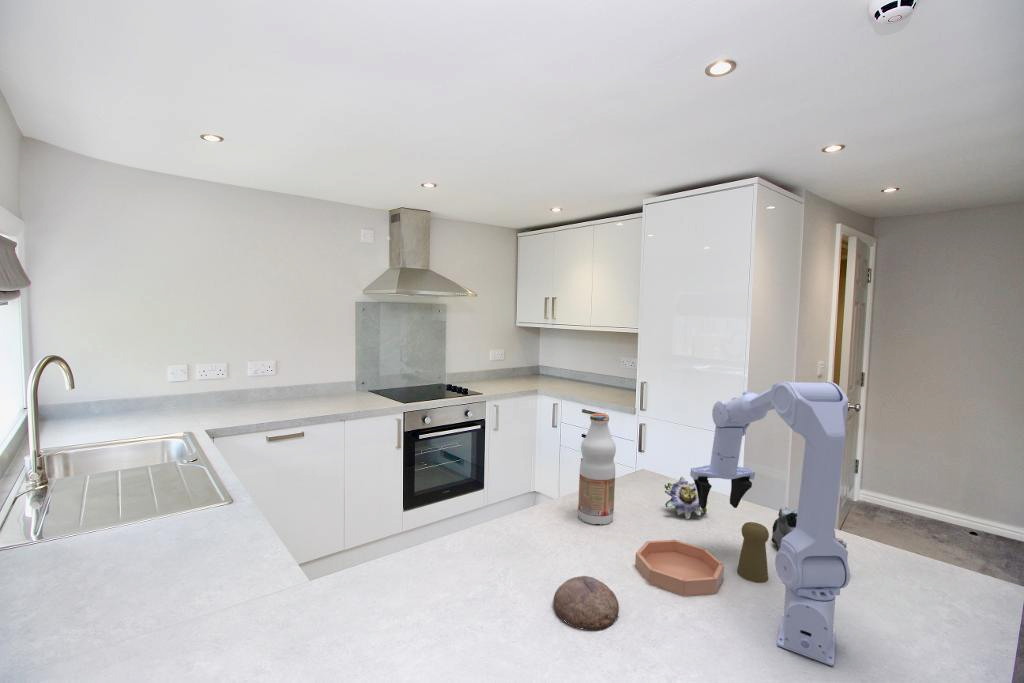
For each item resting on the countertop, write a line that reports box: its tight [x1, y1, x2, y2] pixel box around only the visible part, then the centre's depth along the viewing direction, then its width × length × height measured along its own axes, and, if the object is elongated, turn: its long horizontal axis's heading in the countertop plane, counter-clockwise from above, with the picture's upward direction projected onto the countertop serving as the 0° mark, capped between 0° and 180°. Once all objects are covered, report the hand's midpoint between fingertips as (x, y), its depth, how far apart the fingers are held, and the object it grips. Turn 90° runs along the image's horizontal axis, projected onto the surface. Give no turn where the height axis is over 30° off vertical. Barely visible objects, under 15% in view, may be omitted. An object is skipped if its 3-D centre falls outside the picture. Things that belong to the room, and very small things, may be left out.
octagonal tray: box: [634, 539, 725, 597], centre depth 103 cm, size 17×17×3 cm
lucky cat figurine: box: [770, 506, 848, 552], centre depth 110 cm, size 15×12×14 cm
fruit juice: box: [577, 413, 617, 525], centre depth 128 cm, size 9×9×28 cm
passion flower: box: [664, 476, 709, 521], centre depth 134 cm, size 11×11×12 cm
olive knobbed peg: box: [736, 521, 770, 584], centre depth 102 cm, size 6×6×11 cm
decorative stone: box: [553, 575, 620, 631], centre depth 89 cm, size 12×12×6 cm
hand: (717, 505), depth 113 cm, fingers open, 7 cm apart
